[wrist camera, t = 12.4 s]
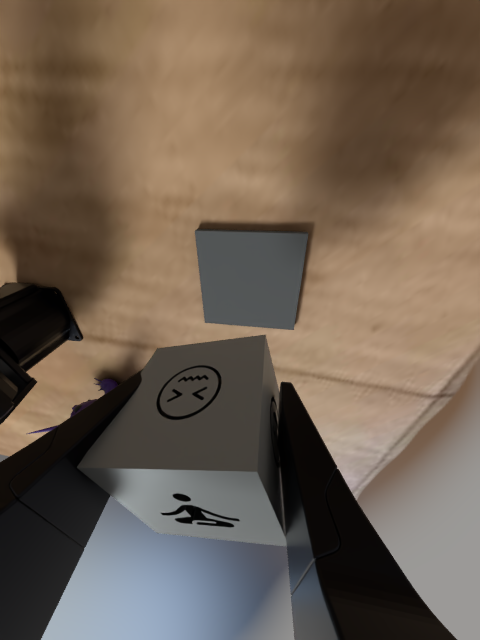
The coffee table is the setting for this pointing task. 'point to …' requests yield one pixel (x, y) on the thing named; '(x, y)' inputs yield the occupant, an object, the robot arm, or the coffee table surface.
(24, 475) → the robot arm
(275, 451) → the dice cube
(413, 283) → the coffee table surface
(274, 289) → the mat
